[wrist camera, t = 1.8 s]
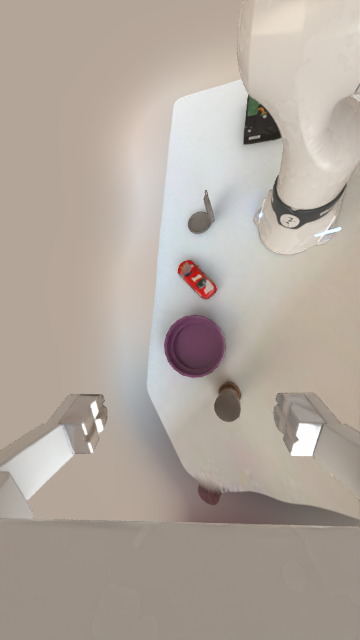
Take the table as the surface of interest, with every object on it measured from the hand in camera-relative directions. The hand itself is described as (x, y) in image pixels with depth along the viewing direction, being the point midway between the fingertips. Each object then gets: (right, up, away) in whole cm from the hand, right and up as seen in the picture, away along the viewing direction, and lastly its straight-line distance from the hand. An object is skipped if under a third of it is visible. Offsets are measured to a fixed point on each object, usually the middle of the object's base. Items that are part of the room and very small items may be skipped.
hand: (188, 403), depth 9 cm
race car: (+5, +15, +45) cm, 47 cm away
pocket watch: (+7, +32, +47) cm, 57 cm away
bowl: (+4, -3, +42) cm, 42 cm away
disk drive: (+24, +62, +46) cm, 80 cm away
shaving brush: (+12, -14, +38) cm, 42 cm away
